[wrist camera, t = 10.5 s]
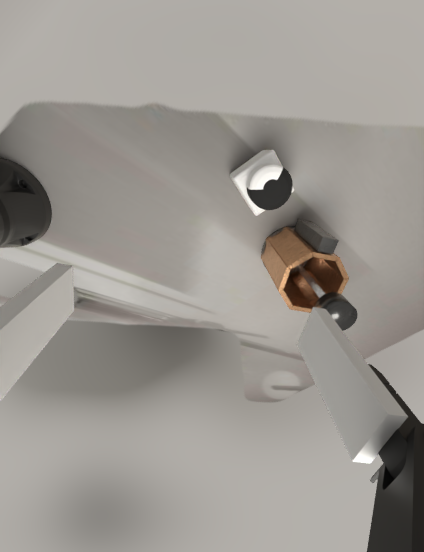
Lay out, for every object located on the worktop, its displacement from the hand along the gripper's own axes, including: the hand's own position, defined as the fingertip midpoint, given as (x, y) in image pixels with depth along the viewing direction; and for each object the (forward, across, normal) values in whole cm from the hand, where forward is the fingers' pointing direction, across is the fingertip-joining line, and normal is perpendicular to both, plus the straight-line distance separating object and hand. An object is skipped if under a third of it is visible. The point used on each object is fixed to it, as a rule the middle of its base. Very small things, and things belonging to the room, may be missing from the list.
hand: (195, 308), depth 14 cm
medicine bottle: (+37, +9, +5) cm, 38 cm away
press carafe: (+37, +19, -6) cm, 42 cm away
